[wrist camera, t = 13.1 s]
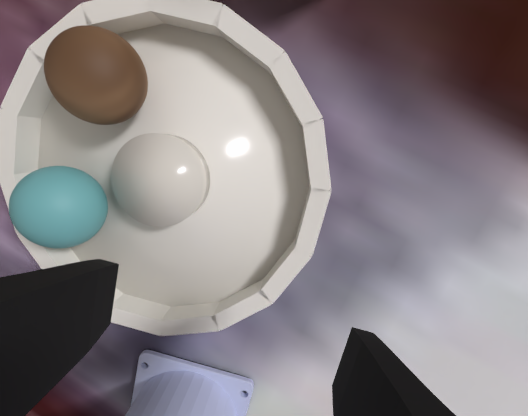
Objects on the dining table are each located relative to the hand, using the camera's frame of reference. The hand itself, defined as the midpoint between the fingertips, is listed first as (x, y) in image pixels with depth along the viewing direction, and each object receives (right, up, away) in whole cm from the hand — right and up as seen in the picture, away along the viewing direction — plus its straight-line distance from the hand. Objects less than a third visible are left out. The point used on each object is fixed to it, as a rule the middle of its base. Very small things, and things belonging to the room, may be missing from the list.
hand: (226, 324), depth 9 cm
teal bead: (-10, +4, +9) cm, 14 cm away
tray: (-4, +5, +9) cm, 12 cm away
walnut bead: (-7, +10, +8) cm, 14 cm away
